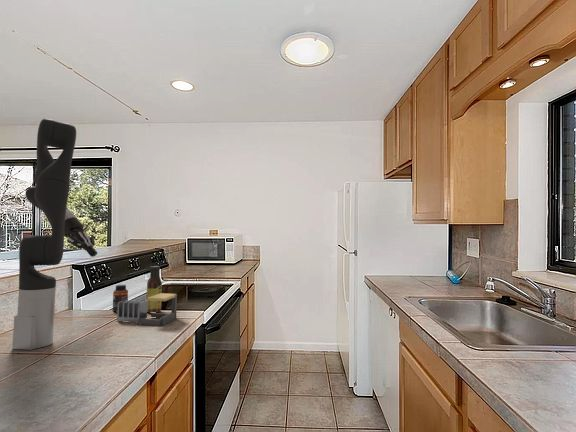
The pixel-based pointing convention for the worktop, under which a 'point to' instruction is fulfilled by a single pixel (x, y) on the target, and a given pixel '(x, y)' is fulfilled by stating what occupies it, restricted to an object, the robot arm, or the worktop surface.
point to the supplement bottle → (119, 295)
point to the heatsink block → (132, 310)
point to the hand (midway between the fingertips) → (94, 255)
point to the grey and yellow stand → (164, 316)
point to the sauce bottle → (154, 289)
